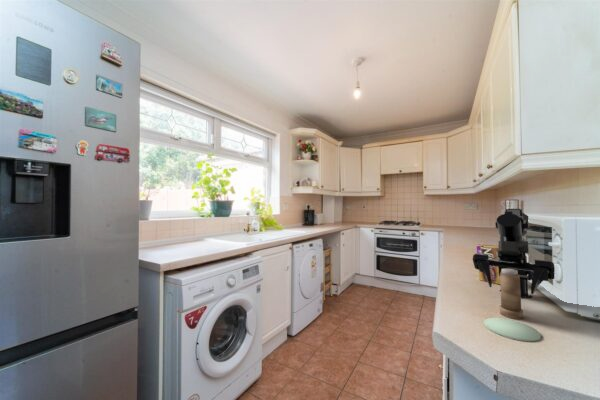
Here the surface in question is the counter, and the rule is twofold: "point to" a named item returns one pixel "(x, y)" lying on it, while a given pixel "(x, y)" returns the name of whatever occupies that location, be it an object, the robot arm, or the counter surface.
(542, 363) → the counter surface
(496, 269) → the candy box
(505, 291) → the pepper mill
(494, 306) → the counter surface
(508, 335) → the rubber mat
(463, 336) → the counter surface
